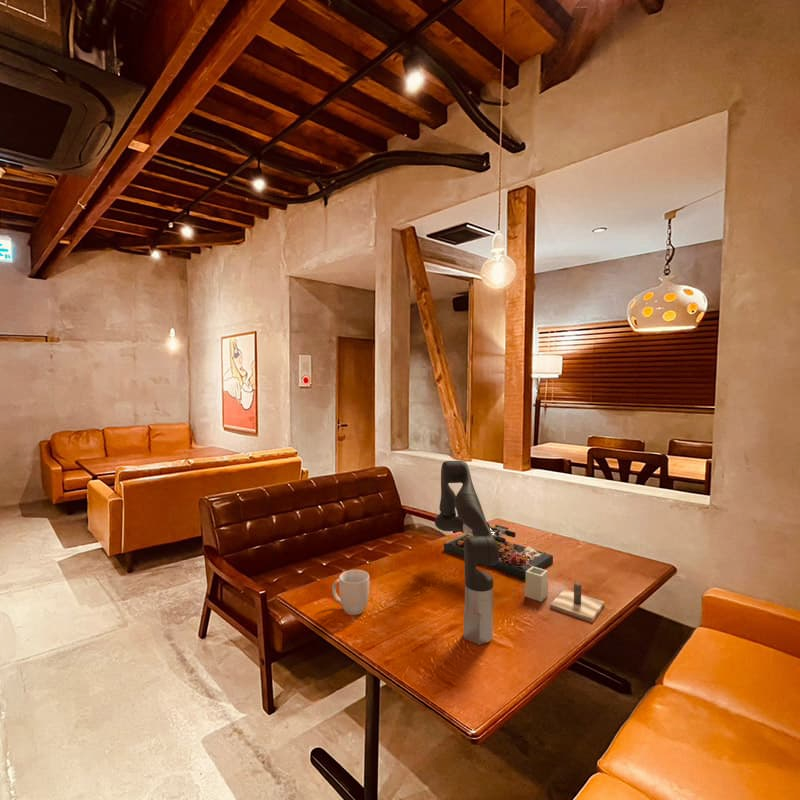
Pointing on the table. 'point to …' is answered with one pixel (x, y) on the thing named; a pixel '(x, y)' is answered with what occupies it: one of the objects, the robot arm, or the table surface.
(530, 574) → the cream square bin
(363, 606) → the mug
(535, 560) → the food platter
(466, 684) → the table surface
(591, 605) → the post base
